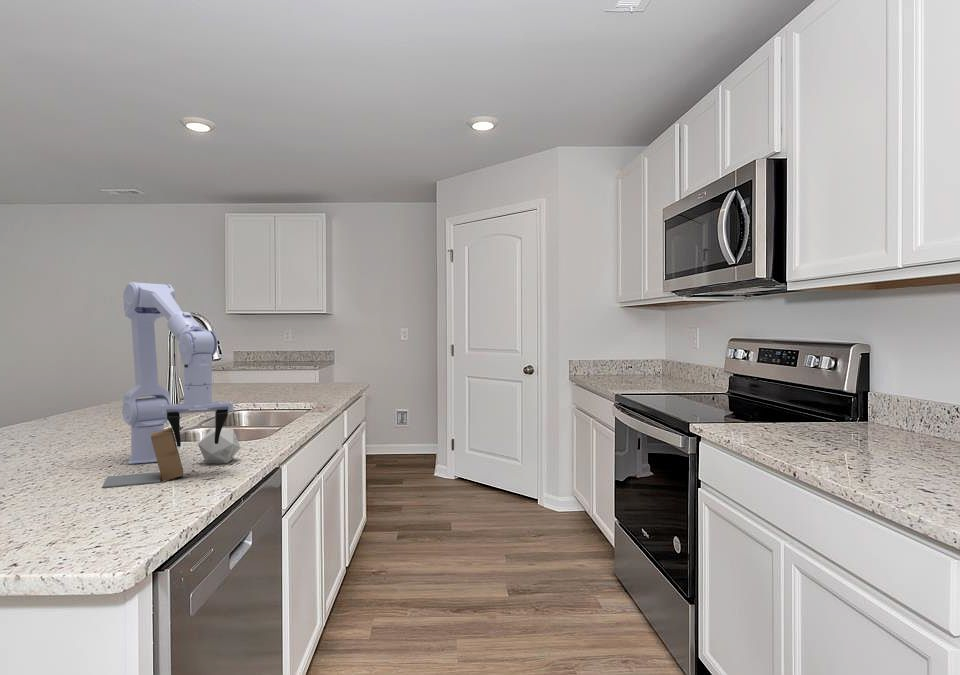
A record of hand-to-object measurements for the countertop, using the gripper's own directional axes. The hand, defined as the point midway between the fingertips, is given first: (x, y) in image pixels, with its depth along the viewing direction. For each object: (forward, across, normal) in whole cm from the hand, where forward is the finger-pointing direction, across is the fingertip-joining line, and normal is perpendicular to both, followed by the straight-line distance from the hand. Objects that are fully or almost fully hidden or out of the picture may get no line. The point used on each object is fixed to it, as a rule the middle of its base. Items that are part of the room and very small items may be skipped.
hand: (197, 444), depth 133 cm
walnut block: (+6, -5, 0) cm, 8 cm away
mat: (+7, -13, 0) cm, 14 cm away
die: (+7, +5, +12) cm, 15 cm away
